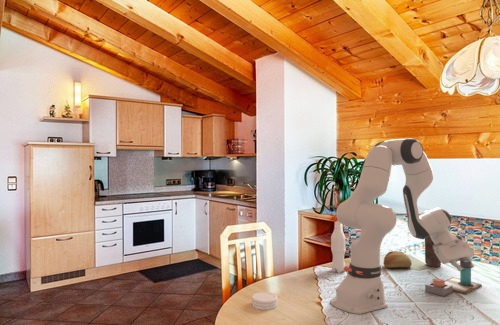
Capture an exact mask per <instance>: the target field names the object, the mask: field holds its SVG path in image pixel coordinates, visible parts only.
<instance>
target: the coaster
mask: <svg viewBox="0 0 500 325" xmlns="http://www.w3.org/2000/svg"><path fill="white" fill-rule="evenodd" d="M251 305H252V307H253V308H254V309H257V310H259V311H260V310H261V311H269V310H273V309H275V308H277V307H278V296H277V294H275V293H273V292H269V291H261V292H256V293H254V294H253V295H252V297H251Z"/></svg>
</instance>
